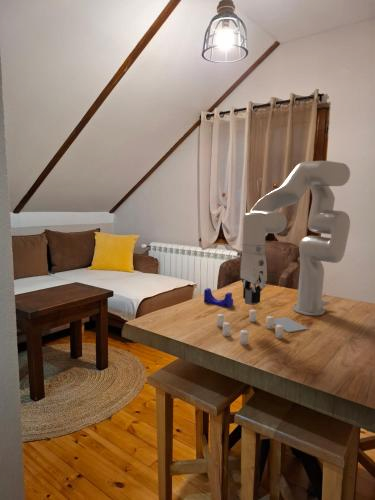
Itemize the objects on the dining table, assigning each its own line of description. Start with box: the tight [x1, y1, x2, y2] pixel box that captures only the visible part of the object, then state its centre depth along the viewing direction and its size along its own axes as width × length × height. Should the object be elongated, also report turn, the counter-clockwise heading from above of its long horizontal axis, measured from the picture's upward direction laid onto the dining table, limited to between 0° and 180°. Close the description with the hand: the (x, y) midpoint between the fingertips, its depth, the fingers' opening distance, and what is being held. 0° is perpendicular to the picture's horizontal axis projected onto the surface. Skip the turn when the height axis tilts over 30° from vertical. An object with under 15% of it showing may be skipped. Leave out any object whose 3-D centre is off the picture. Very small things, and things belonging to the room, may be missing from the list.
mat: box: [274, 317, 309, 334], centre depth 129 cm, size 9×12×1 cm
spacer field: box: [216, 309, 284, 346], centre depth 122 cm, size 21×19×4 cm
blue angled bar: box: [203, 287, 234, 309], centre depth 151 cm, size 12×4×6 cm, turn 56°
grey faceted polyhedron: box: [244, 286, 259, 306], centre depth 120 cm, size 5×4×5 cm
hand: (251, 299), depth 121 cm, fingers closed on grey faceted polyhedron, 4 cm apart
